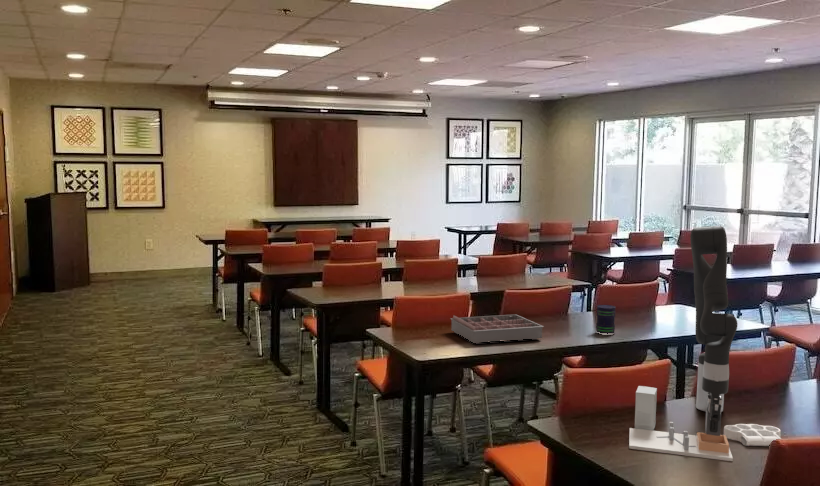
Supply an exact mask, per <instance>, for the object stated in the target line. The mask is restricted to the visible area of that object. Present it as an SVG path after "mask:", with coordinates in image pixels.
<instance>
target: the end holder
mask: <svg viewBox="0 0 820 486" xmlns="http://www.w3.org/2000/svg"><path fill="white" fill-rule="evenodd" d="M696 436H697V439H696V440H697V444H698V449H699V450H707V451H715V452H724V453H729V448H730V443H729V441H728V440H729V439H728V438H727V437H726V435H724V434H720V436H716V435H708V434H706V432H700V431H699V432H696ZM704 441H706V442H704ZM713 442H714V443H713ZM722 443H723V444H722Z"/></svg>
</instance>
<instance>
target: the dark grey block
mask: <svg viewBox="0 0 820 486" xmlns="http://www.w3.org/2000/svg"><path fill="white" fill-rule="evenodd" d="M708 410H709V409H706V412H705V424H704V425H705V426H704V428H705V429H704V431H705V432H704V433H706V434H708V435H716V436H720V435H721V428H722V427H721V425H722V412H721V413H720V420H719V421H718V431H717V432H716V433H715V432H710V412H709V411H708ZM711 410H712V409H711ZM713 416H715V417H717V415H713Z"/></svg>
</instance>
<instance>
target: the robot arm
mask: <svg viewBox="0 0 820 486" xmlns="http://www.w3.org/2000/svg"><path fill="white" fill-rule="evenodd" d="M689 236H690V248H691V255H692V256H691V257H692V263H693V265H692V266H693V291H694V304H695V339H696V342H697V343H698V344H701V345H705V346H704V352H702V353H700V354H699V355H698V360H697V361H698V362H697V363H698V364H697V383H696V384H697V386H696V405H695V407H696V409H698V410H700V411H703V412H705V413H706V409H709V410H708V411H709V412H710V432H715V433H716V432H717V431H718V421H719V420H720V413H721V414H722V412H724V403H725V394H727V393H729V381H730V379H729V378H730V351H731V346H732V343H733V339H734V337H735V335H736V332H737V330H738V320H737V318H736V317H735V315H733V314H730V313H718V312H720V311H722V310H725V309H727V308H728V306H729V295H728V287H727V286H728V285H727V269H728V238H727V232H726V230H725V228H724V227H723V226H721V225H720V226H719V225H717V226H716V225H714V226H713V225H712V226H699V227H694V228H693V229H691V231H690V235H689ZM715 254H716V259H715V261H714V264H713V265H712V266H711V265H710V264H709V263H708V262H707V259H706V258H705V257H704V255H715ZM711 409H712V410H711ZM713 415H717V417H715V416H713Z"/></svg>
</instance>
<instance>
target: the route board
mask: <svg viewBox="0 0 820 486" xmlns="http://www.w3.org/2000/svg"><path fill="white" fill-rule="evenodd" d="M628 435H629V437H628V438H629V439H628V443H629V444H628V449H632V450H638V451H647V452H656V453H663V454H669V455H670V454H672V455H680V456H681V455H682V456H687V457H695V458H704V459H709V460H710V459H711V460H719V461H720V460H721V461H726V462H727V461H728V462H733V459H734V458H733V457H734V456H733V455H732V452H731V448H730V447H729V453H724V452H715V451H707V450H699V449H698V444H697V440H696V439H697V434H696V435H695V434H689V431H688V430H683V433H677V432H675V427H674V422H673V421H669V424H668V431H659V430H654V431H652V430H643V429H635V427H634V428H632V427H629V434H628ZM704 442H706V441H704ZM713 443H714V442H713ZM722 444H723V443H722Z"/></svg>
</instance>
